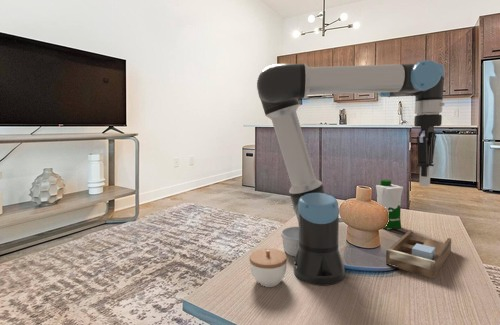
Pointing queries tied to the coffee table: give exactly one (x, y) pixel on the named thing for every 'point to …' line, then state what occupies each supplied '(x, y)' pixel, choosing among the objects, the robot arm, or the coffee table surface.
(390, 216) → the milk carton
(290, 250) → the ramekin
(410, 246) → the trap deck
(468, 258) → the coffee table surface
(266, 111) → the robot arm
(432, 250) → the blue block
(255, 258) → the lidded jar
